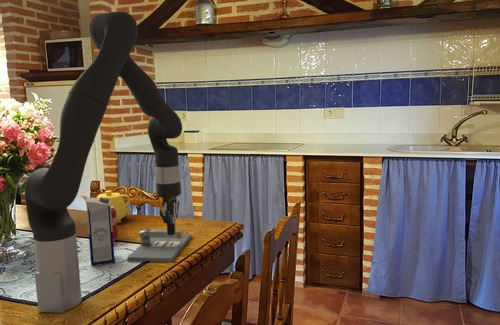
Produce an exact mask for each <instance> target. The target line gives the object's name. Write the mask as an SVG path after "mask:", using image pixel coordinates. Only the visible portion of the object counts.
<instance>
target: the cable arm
mask: <svg viewBox="0 0 500 325" xmlns="http://www.w3.org/2000/svg"><path fill="white" fill-rule="evenodd" d="M175 230H176V233H175V234H174V235H168V234H167V229H151V228H142V229H140V230H139V231H138V234H139V235H138V236H139V238H140V239H141V238H179V239H182V238H183V236H184V234H185V233H184V232H185V230H184V229H175Z"/></svg>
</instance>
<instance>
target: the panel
mask: <svg viewBox="0 0 500 325" xmlns="http://www.w3.org/2000/svg"><path fill="white" fill-rule="evenodd" d="M192 236H193V235H192V233H184V236H183V238H182V239H179V238H140V241H141V242H140V243H141V244H140V245H139V246H138V247H137V248H136V249H135V250H134V251H132V252H131V253H130V254H129V255H128V256H127V259H126V260H127V262H146V261H150V262H152V263H172V262H173V261H174V260H175V258H176V257H177V256H178V255H179V254H180V252H181V251H182V249H183V248H184V247H185V245H187V243H188V242H189V241H190V240H191V238H192Z"/></svg>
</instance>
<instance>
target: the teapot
mask: <svg viewBox="0 0 500 325" xmlns="http://www.w3.org/2000/svg"><path fill="white" fill-rule="evenodd" d="M78 196H79V197H81V198H82V199H83V200H84V202H85V203H86V197H88V196H87V195H82V194H79V195H78ZM100 197H105V198H109V201H110V204H111V206H113V207H114V209H115V210H116V217H117V224H118V223H122V219H123V218H124V217H125V216H126V214H127V213H129V214H130V213H131V212H132V207H130V206H129V205H130V203H131V198H130V196H129V194H121V193H119V192H113V190H111V189H110V190H105V191H104V192H103V193H100V194H98V195H97V196H96V198H98V199H100ZM124 197H125V198H126V199H127V202H125V200H124Z"/></svg>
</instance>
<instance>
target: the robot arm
mask: <svg viewBox="0 0 500 325" xmlns="http://www.w3.org/2000/svg"><path fill="white" fill-rule="evenodd" d="M87 29H88V34H89V37H90V39H91V41H92V42H93V44H94V45H95V47H96V48H97V49H98V53H97V55H96V57H94V59H93V61H92V63H90V65H89V66H88V67H87V68H86V69H85V70H84V71H83V72H82V73H81V74H80V76H79V77H78V78H77V79H76V80H75V82H74V83H73V84H72V85H71V88H70V89H69V91H68V93H67V96H66V99H65V101H64V103H63V106H62V109H61V113H60V117H59V118H60V120H59V141H58V146H57V150H56V153H55V154H54V157H53V159H52V161H51V164H50V165H49V167H41V168H38V169H36V170H33V172H31V173H30V174H29V176H28V177H27V178H26V181H25V184H24V198H25V206H26V214H27V219H28V220H27V221H28V225H29V226H30V229H31V231H32V235H33V247H34V255H35V256H34V257H35V268H36V269H35V270H36V272H35V273H34V281H35V290H36V300H37V310H38V311H37V312H39V313H59V314H63V313H64V312H65V311H67V310H70V309H72V308H75V307H77V306H78V305H79V304H80V303H81V302H82V299H83V298H82V288H81V287H82V285H81V276H80V265H79V254H78V253H79V250H78V240H77V228H76V223H75V220H74V219H73V218H72V217H71V215H70V213H69V210H68V207H69V206H71V205H72V204H73V202H74V201H75V200H76V198H77V195H78V193H79V190H80V186H81V183H82V180H83V176H84V172H85V168H86V163H87V161H88V157H89V154H90V152H91V150H92V147H93V144H94V143H95V139H96V137H97V134H98V132H99V131H98V130H99V128H100V125H101V124H102V121H103V118H104V115H106V114H105V113H106V111H107V109H108V106H109V101H110V99H111V97H112V93H113V92H114V89H115V86H116V84H117V82H118V79H119V77H120V78H121V79H122V81H123V83H124V84H126V86H127V89H129V91H130V93H131V95H132V96H133V97H134V100H135V101H136V102H137V105H138V107H139V108H140V110H141V111H142V113H143V114H144V115H146V116H148V117H149V120H148V122H147V134H148V137H149V142H150V144H151V147H152V149H153V150H152V151H153V152H154V161H155V162H154V163H155V172H154V173H155V174H154V175H155V189H156V196H157V197H158V198H162V202H161V208H162V209H160V210H159V215H160V217H161V220H162V223H163V224H166V230H167V234H168V235H174V234H175V233H176V230H177V229H176V221H177V219H178V215H179V214H178V213H179V207H180V201H179V200H177V197H179V196H181V194H182V184H181V170H180V162H179V150H178V148H177V147H175V146H174V145H171V144H170V143H169V142H168V140H167V139H169V140H172V139H173V140H174V139H177V138H179V137H180V136H181V135H182V131H183V123H182V121H181V120H182V119H181V118H180V117H179V115H178V114H177V113H176V112H175V110H174V109H173V108H172V107H171V106H170V105H169V104H168V103H167V102H166V101H165V99H164V98H163V96H162V94H161V91H160V90H159V88H158V86H157V85H156V82H154V80H153V79H152V77H151V76H150V75H149V74H148V73H146V72H145V71H144V69H143V68H142V67H141V66H140V65H138V64H137V62H135V61H134V59H133V58H132V57H131V56H130V55H131V53H132V50H133V49H134V46H135V44H136V41H137V39H138V30H139V29H138V24H137V21H136V19H135V17H134V16H133V15H131V14H130V13H128V12H125V11H110V12H103V13H102V12H101V13H97V14H95V15H93V16H92V17H91V18H90V20H89V22H88V28H87Z"/></svg>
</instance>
